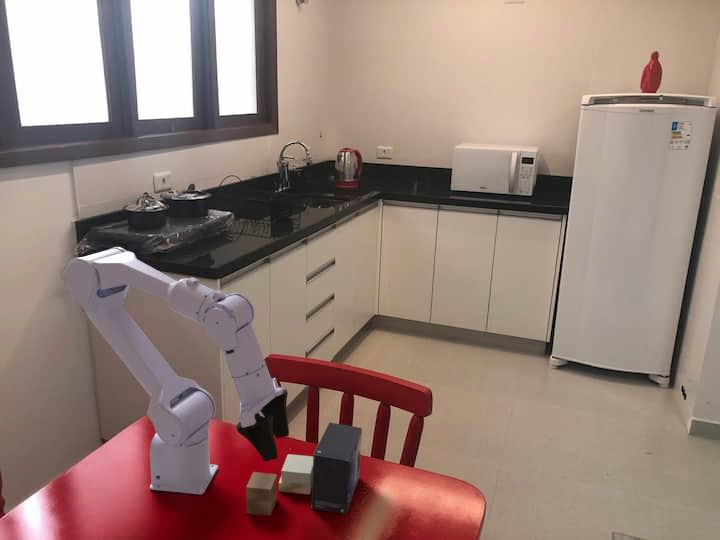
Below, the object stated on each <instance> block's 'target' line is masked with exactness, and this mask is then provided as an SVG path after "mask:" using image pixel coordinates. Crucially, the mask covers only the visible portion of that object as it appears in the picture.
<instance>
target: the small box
mask: <svg viewBox="0 0 720 540" xmlns="http://www.w3.org/2000/svg"><path fill="white" fill-rule="evenodd" d="M362 431H363V428H362V427H359V426H358V427H357V426H354V425H353V426H352V425H346V424H341V423H334V422H329V423H328V425H327V427H326V428H325V430H324V432H323V433H322V434H323V435H322V436H321V438H320V441H319V442H318V444H317V446H316V447H315V450H314V452H313V454H312V455H313V484H312V489H311V505H310V508H311V509H312V510H317V511H318V510H319V511H325V512H330V513H334V514H339V515H347V513H348V511H349V508H350V504H351V502H352V500H353V496H354V494H355V491H356V488H357V484H358V482H359V480H360V469H361V451H362V435H363V434H362V433H363V432H362Z"/></svg>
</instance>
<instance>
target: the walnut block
mask: <svg viewBox="0 0 720 540" xmlns="http://www.w3.org/2000/svg"><path fill="white" fill-rule="evenodd" d="M277 480H278V475H277V474H276V473H268V472H267V473H266V472H256V471H253V472H252V474H251V476H250V479H249V481H248V482H247V485H246V486H245V487H246V488H245V489H246V490H245V491H246V493H245V494H246V514H251V515H258V516H261V515H262V516H269V517H270V516H272V513H273V511H274V508H275V505H276V503H277V500H278V499H277V498H278V496H277V495H278V494H277V493H278V489H277V487H278V485H277V484H278V481H277Z"/></svg>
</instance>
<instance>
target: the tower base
mask: <svg viewBox="0 0 720 540" xmlns="http://www.w3.org/2000/svg"><path fill="white" fill-rule="evenodd" d="M312 484H313V476H312V480H311V483H310V485H307V484H297V483H287V482H281V477H280V478H279V481H278V492H282V493H292V494H303V495H311V494H312Z"/></svg>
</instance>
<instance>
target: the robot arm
mask: <svg viewBox="0 0 720 540" xmlns="http://www.w3.org/2000/svg"><path fill="white" fill-rule="evenodd" d="M65 268H66V269H65V287H66V288H67V290H68V291H69V292H70V293H71V295H72V296H73V297H74V299H75V300H76V301H77V302H78V304H79V305H80V306H81V308H82V309H83V310H84V312H85V314H86V316H87V318H88V319H89V320H90V322H91V323H92V325H94V327H95V328H96V329H97V330H98V332H99V333H100V334H101V336H102V337H103V338H104V340H105V341H106V342H107V343H108V345H109V346H110V347H111V348H112V350H114V352H115V354H116V355H117V356H118V357H119V358H120V361H122V363H123V364H124V365H125V367H127V369H128V370H129V371H130V373H131V374H132V375H133V376H134V377H135V379H136V380H137V382H139V384H140V385H141V386H142V388H143V389H144V390H145V391H146V393H147V394H148V395H149V397H150V401H149V406H148V409H147V412H146V416H147V417H148V418H149V419H150V422H151V423H152V424H153V428H154V431H155V434H154V436H153V438H152V440H151V443H150V447H149V448H150V449H149V462H150V463H149V465H150V467H149V468H150V479H151V481H150V482H151V483H150V485H149V490H152V491H163V492H171V493H182V494H190V495H191V494H193V495H203V494H204V493H205V491H206V490H207V488H208V486H209V484H210V483H211V482H212V480H213V478H214V476H215V474H216V473H217V471H218V469H219V465H217V464H211V463H210V462H211V461H210V435H209V433H210V432H209V429H210V427H211V420H212V419H213V418H214V417H215V416H216V414H217V404H216V401H215V399H214V397H213V395H212V394H211V393H210V392H208V391H207V390H206V389H204V388H202V387H201V386H200V385H199V384H198V383H197V382H196V381H195V380H194V379H192V378H191V379H190V378H186V377H181V376H178V374H177V373H176V372H175V371H174V369H173V368H172V367H171V366H170V364H169V363H168V362H167V360H166V359H165V358H164V357H163V356H162V354H161V353H160V351H159V350H158V349H157V348H156V347H155V346H154V343H152V342H151V340H150V339H149V338H148V336H147V335H146V334H145V333H144V332H143V329H141V328H140V326H139V325H138V324H137V323H136V321H135V320H134V318H132V316H131V315H130V314H129V312H128V311H127V310H126V308H125V306H124V299H126V297H127V295H128V291H129V289H130V287H132V288H135V289H137V290H139V291H142V292H144V293H148V294H150V295H153V296H155V297H157V298H160V299H163V300H166V303H167V306H168V309H169V310H170V311H173V312H175V313H176V314H178V315H181V316H183V317H185V318H186V319H190V320H191V321H194V322H195V323H197V324H199V325H201V326H202V327H203V330H204V331H205V333H206V334H207V335H208V336H209V338H211V339H212V340H214V342H215V344H216V347H217V349H219V351H220V352H221V354H222V356H223V358H224V361H225V364H226V367H227V369H228V372H229V375H230V377H231V380H232V382H233V386H234V388H235V390H236V393H237V396H238V398H239V400H240V402H239V413H238V419H239V422H238V423H237V424H236V427H235V428H236V431H237V433H238V434H240V435H241V436H242V437H244V438H245V439H246V440H247V441H248V442H250V444H251V446H253V448H254V449H255V450H256V452H257V453H258V454H259V456H260V457H261V458H262V460H263V462H269V461H273V460H276V459H278V455H279V453H278V447H277V445H276V440H275V438H276V439H277V440H279V439H283V438H286V437H289V435H290V427H289V419H288V414H287V413H288V412H287V411H288V410H287V402H288V393H289V392H288V390H287V389H283V387H282V386H281V387H280V386H279V385H278V381H277V378H276V377H273V378H272V377H271V375H270V374H271V373H270V372H269V369H268V366H267V363H266V360H265V357H264V355H263V352H262V350H261V346H260V344H259V341H258V339H257V336H256V334H255V331H254V328H253V325H252V322H253V321H254V317H255V309H254V307H253V306H254V305H253V304H252V303H251V301H250V300H249V299H248V298H247V297H246V296H244V295H243V294H241V293H239V292H233V293H230V294H226V293H224V291H221V290H219V289H217V290H215V289H213V288H210V287H208V286H206V285H204V284H201V283H199V279H198V278H195V277H193V276H192V277H188V278H187V277H185V278H181V279H179V280H176V279H174V278H172V277H171V276H169V275H167V274H164V273H163V272H161V271H160V270H157V269H155V268H154V267H152V266H151V265H148V264H146V263H144V262H143V261H141V260H139V259H137V256H136V254H135V253H134V252H132V251H129V250H126V249H125V248H122V247H120V246H113V247H111V248H109V249H106V250H102V251H100V252H96V253H92V254H89V255H86V256H82V257H80V256H79V257H78V256H77V257H73V258H72V259H71V260H69V261H68V263H67V265H66V267H65ZM174 401H175V402H174ZM172 402H174V403H172ZM171 403H172V404H171ZM170 404H171V405H170ZM260 413H261V414H262V415H261V414H260Z"/></svg>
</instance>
